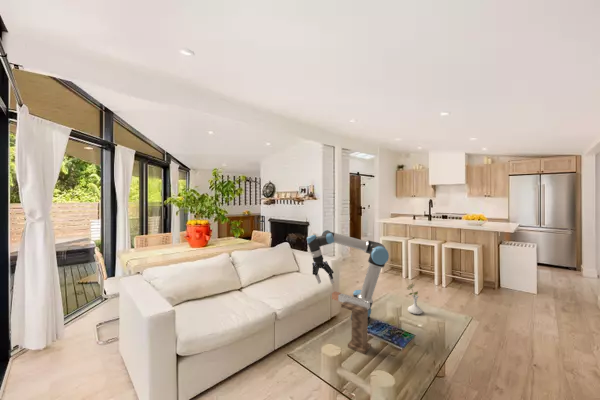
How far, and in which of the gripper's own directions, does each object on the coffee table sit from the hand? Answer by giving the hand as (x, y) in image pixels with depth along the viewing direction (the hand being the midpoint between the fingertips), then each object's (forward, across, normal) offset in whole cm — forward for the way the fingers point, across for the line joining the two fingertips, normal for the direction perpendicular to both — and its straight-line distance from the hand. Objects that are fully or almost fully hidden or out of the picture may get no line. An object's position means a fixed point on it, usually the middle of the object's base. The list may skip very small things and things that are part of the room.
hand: (326, 283), depth 199 cm
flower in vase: (+53, +22, +63) cm, 86 cm away
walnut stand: (+40, +17, -8) cm, 44 cm away
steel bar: (+12, +21, -4) cm, 25 cm away
